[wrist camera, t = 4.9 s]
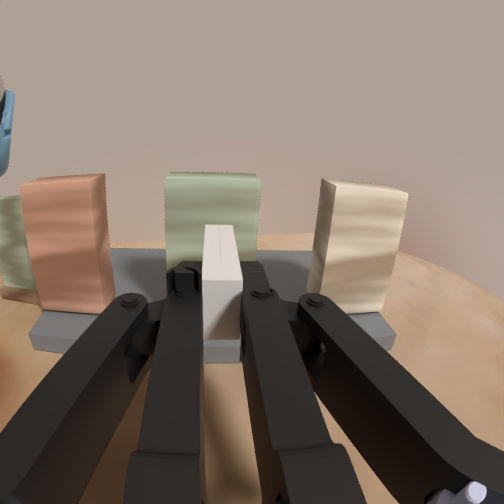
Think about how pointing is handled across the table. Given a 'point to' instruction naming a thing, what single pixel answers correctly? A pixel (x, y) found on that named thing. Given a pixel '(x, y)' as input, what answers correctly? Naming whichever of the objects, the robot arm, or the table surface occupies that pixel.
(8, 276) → the card
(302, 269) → the board
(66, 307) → the terracotta flap
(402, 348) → the table surface
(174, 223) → the sage flap
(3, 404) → the table surface
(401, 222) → the cream flap
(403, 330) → the table surface
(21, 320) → the table surface
